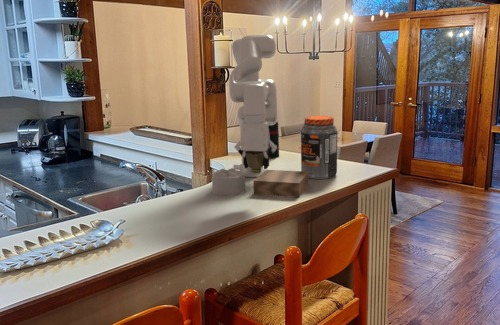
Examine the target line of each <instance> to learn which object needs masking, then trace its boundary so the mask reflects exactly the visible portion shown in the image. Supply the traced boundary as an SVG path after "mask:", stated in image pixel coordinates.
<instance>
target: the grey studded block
mask: <svg viewBox="0 0 500 325" xmlns="http://www.w3.org/2000/svg"><path fill="white" fill-rule="evenodd" d="M211 181H212V182H211V184H212V186H211V187H212V193H214V194H216V195H220V196H221V195H222V196H232V197H233V196H239V195H242V193H244V192H246V177H245V173H243V172H241V171H240V170H239V169H237V170H236V169H234V168H233V167H231V168H229V169H228V170H227V169H225V168H220V169H219V170H217V171H215V172H212V173H211Z"/></svg>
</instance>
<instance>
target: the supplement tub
mask: <svg viewBox="0 0 500 325" xmlns="http://www.w3.org/2000/svg"><path fill="white" fill-rule="evenodd" d="M334 122H335V120H334V117H333V116H329V115H311V116H306V117H304V124H303V126H302V127H301V130H300V153H301V154H300V157H301V158H300V165H301V167H300V168H301V169H300V170H301V171H305V172H309V179H314V180H315V179H316V180H326V179H331V178H334V177H335V176H336V175H337V173H338V128H337V127H336V125H334Z"/></svg>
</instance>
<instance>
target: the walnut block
mask: <svg viewBox="0 0 500 325" xmlns="http://www.w3.org/2000/svg"><path fill="white" fill-rule="evenodd" d="M265 170H266V171H264V172H263V173H262V174H261V175H259V176H258V177H255V179H254V180H253V181H252V182H253V186H252V187H253V195H256V196H270V197H272V196H273V197H286V198H287V197H288V198H300V197H301V196H302V195H303V193H305V190H307V187H309V184H310V180H309V179H310V178H309V172H305V171H299V170H282V169H280V170H279V169H265Z"/></svg>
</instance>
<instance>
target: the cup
mask: <svg viewBox="0 0 500 325" xmlns="http://www.w3.org/2000/svg"><path fill="white" fill-rule="evenodd" d="M245 154H246V160H247V164H248V166H249V167H250V168H252V169H251V171H252V172H253V173H259V172H261V168H262V167H263V168H264V158H265V156H264V153H263V152H254V151H249V152H248V153H246V152H245Z"/></svg>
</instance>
